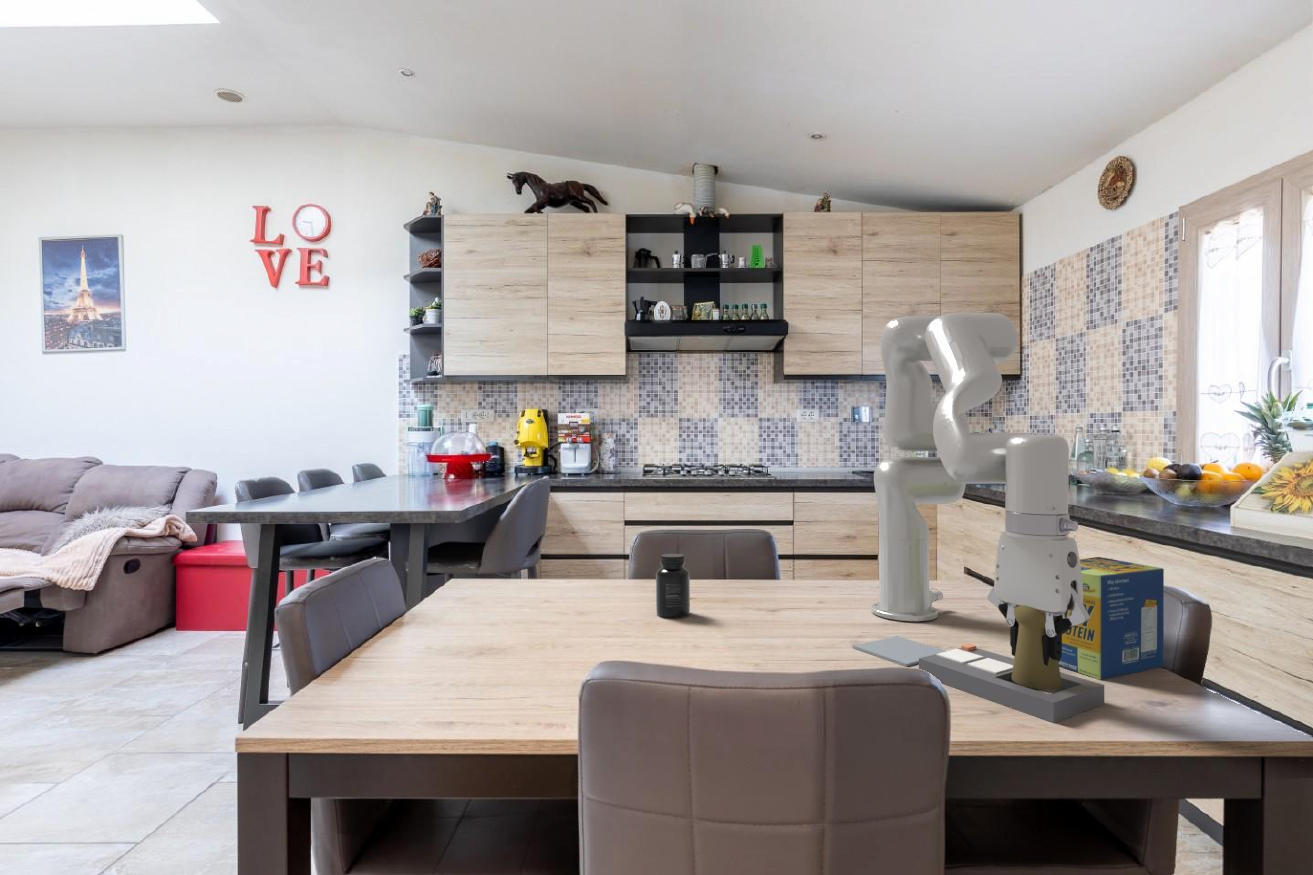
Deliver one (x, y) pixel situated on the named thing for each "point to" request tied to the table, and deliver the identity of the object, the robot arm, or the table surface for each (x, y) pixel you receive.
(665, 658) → the table surface
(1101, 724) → the table surface
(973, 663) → the grey compartment tray
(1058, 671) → the cork
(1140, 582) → the protein box
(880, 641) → the slate mat
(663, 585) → the supplement bottle
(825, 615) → the table surface
